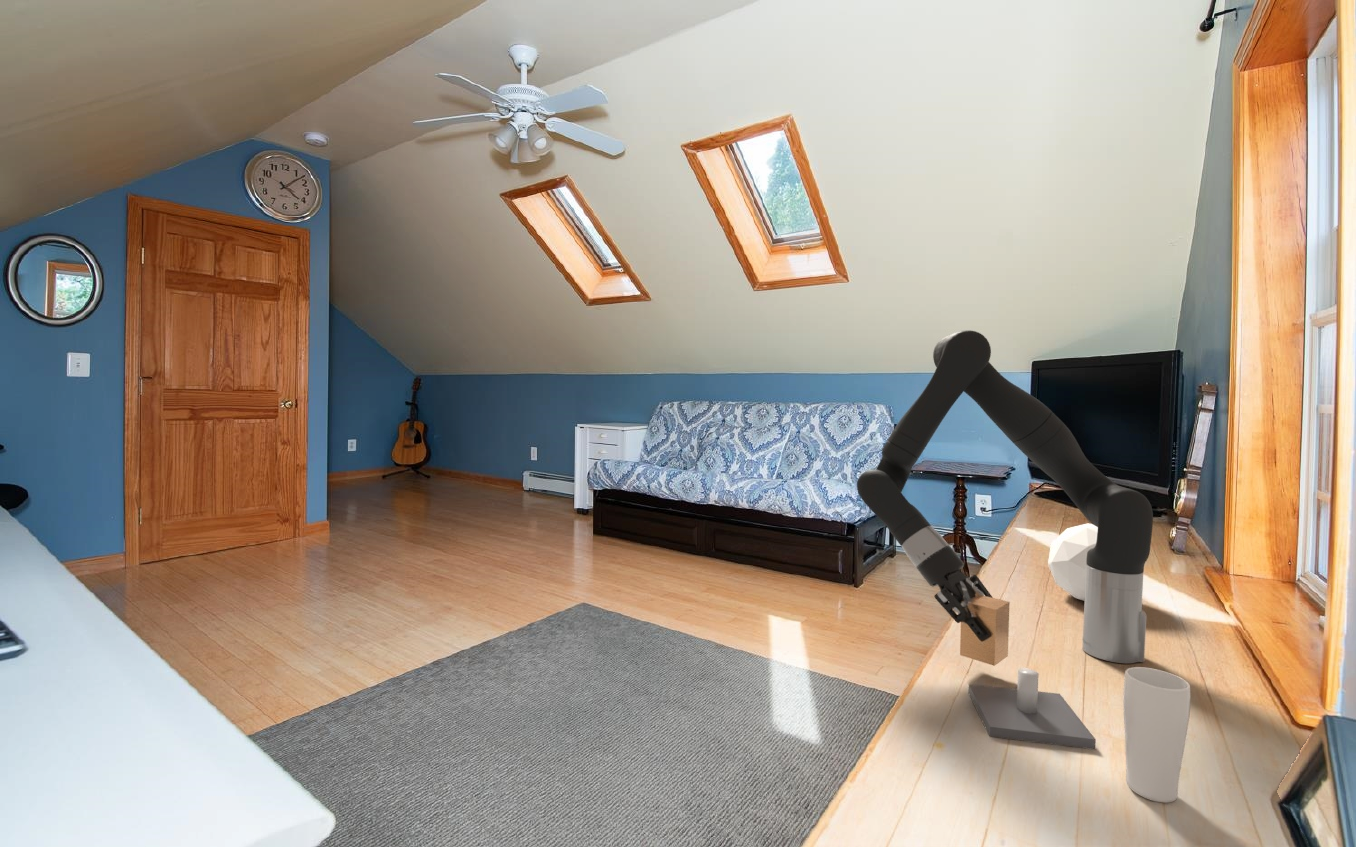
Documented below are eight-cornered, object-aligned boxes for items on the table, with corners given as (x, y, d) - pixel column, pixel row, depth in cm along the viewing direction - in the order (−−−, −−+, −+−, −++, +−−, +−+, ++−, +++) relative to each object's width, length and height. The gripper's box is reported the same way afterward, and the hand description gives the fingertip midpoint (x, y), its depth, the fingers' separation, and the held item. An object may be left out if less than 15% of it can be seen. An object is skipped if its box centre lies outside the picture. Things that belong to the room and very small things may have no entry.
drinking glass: (1106, 776, 84) (1111, 666, 83) (1153, 774, 84) (1159, 665, 84) (1148, 810, 77) (1154, 691, 76) (1199, 807, 78) (1205, 689, 77)
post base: (1059, 702, 104) (1061, 658, 103) (1095, 749, 90) (1097, 698, 90) (968, 692, 107) (969, 649, 107) (989, 736, 93) (991, 687, 93)
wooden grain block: (974, 646, 118) (975, 593, 117) (1007, 656, 113) (1009, 601, 113) (960, 655, 114) (961, 600, 113) (994, 665, 109) (996, 609, 109)
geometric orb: (1093, 621, 160) (1125, 555, 164) (1140, 621, 141) (1176, 546, 145) (1021, 579, 164) (1055, 515, 169) (1058, 572, 145) (1095, 501, 150)
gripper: (927, 551, 113) (994, 634, 105) (962, 538, 123) (1026, 614, 115) (899, 573, 118) (961, 655, 109) (935, 559, 127) (995, 634, 119)
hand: (994, 633), depth 112 cm, fingers closed on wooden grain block, 6 cm apart
